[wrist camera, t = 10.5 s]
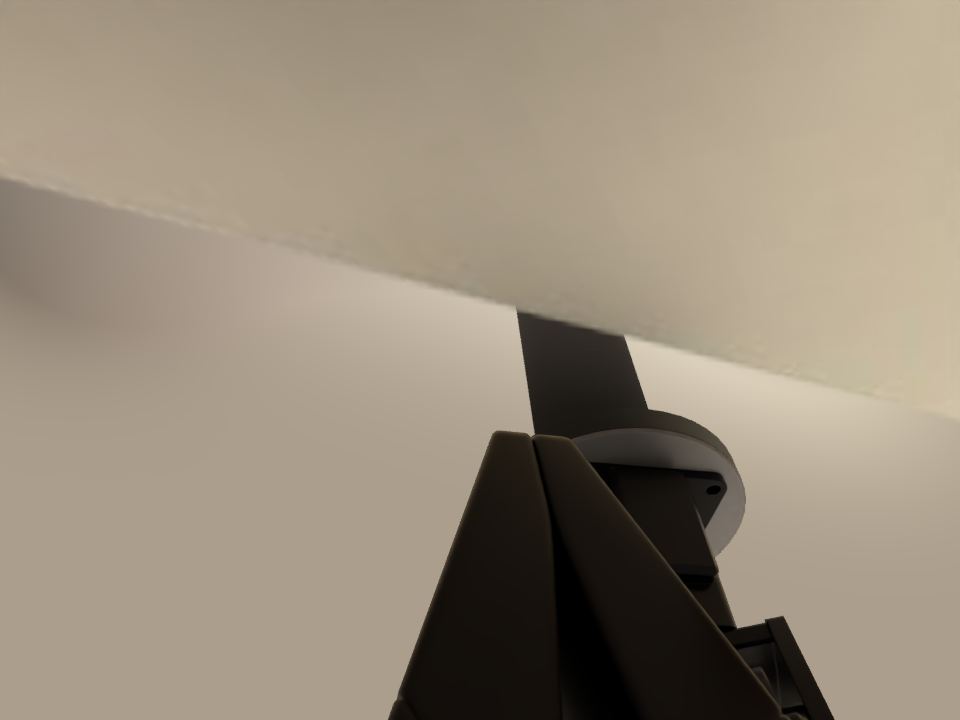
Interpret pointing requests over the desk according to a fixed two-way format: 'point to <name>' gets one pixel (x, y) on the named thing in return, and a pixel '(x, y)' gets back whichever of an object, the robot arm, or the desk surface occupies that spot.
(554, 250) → the desk surface
